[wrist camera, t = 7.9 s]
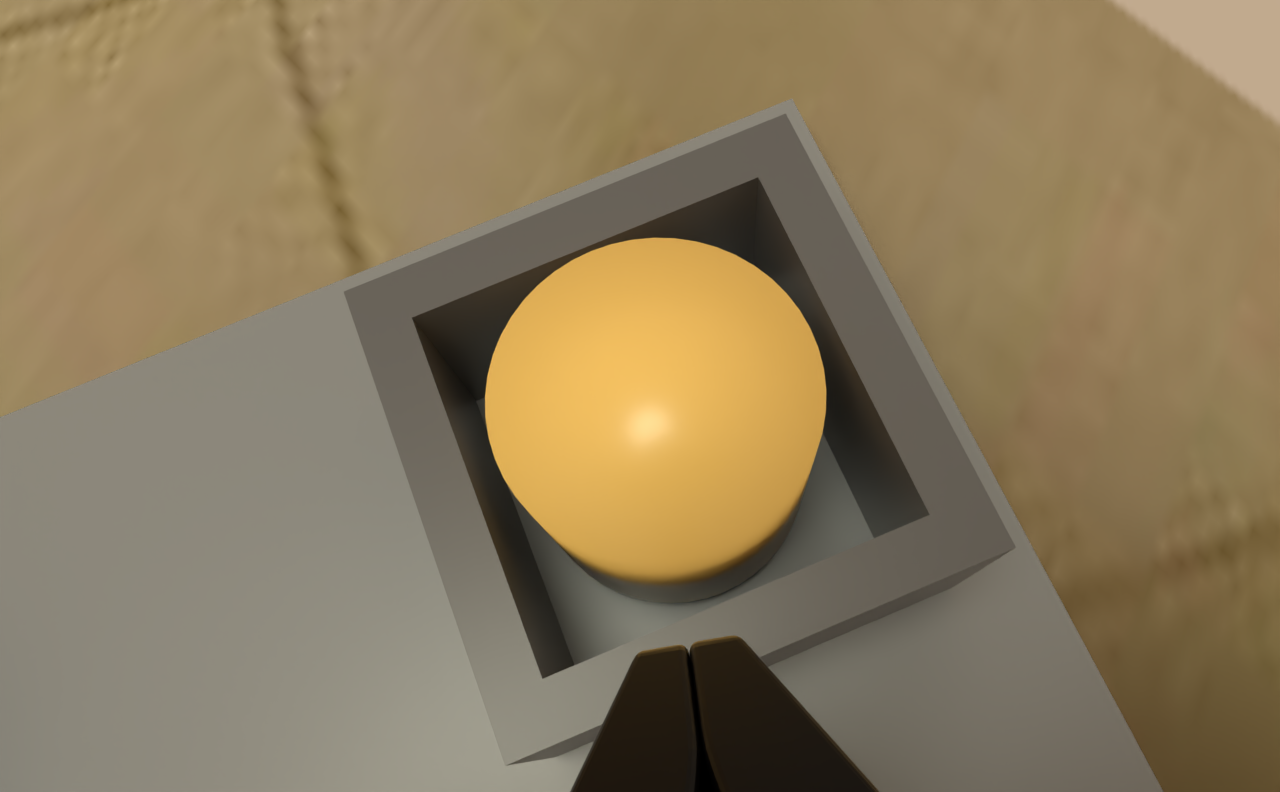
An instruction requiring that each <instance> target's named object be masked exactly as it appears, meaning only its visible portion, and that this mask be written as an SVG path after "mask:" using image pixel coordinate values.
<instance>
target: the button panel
mask: <svg viewBox="0 0 1280 792" xmlns="http://www.w3.org/2000/svg"><path fill="white" fill-rule="evenodd" d="M645 238H677V239H683V240H690V241H696V242H700V243H704V244H707V245H711V246H714V247H718V248H720V249H722V250H725V251H727V252H730V253H732V254H734V255H737V256H738V257H740V258H742V259H744V260H745V261H747V262H749V263H751V264H752V265H754V266H756V267H757V268H758V269H760V270H761V271H762V272H764V273H765V274H766V275H768V276H769V277H770V278H772V279H773V280H774V281H775V282H776V283H777V284H778V285H779V286H780V287H781V288H782V289H783V290H784V291H785V292H786V293H787V294H788V296H789V297H790V298H791V300H792V301H793V302H794V303H795V305H796V306H797V307H798V308H799V310H800V311H801V313H802V315H803V317H804V318H805V320H806V322H807V323H808V325H809V327H810V329H811V331H812V333H813V336H814V338H815V341H816V343H817V345H818V348H819V352H820V356H821V359H822V363H823V367H824V374H825V382H826V414H825V420H824V427H823V433H822V436H821V439H820V443H819V446H818V449H817V452H816V456H815V459H814V462H813V465H812V468H811V471H810V474H809V478H808V481H807V484H806V487H805V490H804V493H803V496H802V499H801V503H800V506H799V509H798V512H797V515H796V518H795V520H794V523H793V525H792V527H791V529H790V531H789V533H788V535H787V537H786V538H785V540H784V541H783V543H782V545H781V546H780V548H779V549H778V550H777V552H776V553H775V554H774V555H773V556H772V558H771V559H770V560H769V561H768V562H767V563H766V564H765V565H764V566H763V567H762V568H761V569H760V570H758V571H757V572H756V573H755V574H754V575H752V576H751V577H750V578H748V579H747V580H745V581H744V582H742V583H741V584H739V585H737V586H735V587H733V588H731V589H729V590H727V591H725V592H723V593H720V594H718V595H715V596H712V597H709V598H706V599H701V600H696V601H691V602H681V603H660V602H650V601H645V600H640V599H636V598H633V597H630V596H627V595H624V594H621V593H618V592H616V591H614V590H612V589H610V588H608V587H606V586H604V585H603V584H601V583H600V582H598V581H597V580H595V579H594V578H592V577H591V576H589V575H588V574H587V573H586V572H585V571H584V570H583V569H581V568H580V567H579V566H578V565H577V564H576V563H575V562H574V561H573V560H572V559H571V558H570V557H569V555H568V554H567V553H566V552H565V551H564V550H563V549H562V548H561V547H560V546H559V545H558V544H557V543H556V541H555V540H554V539H553V538H552V537H551V536H550V535H549V534H548V533H547V532H546V531H545V530H544V529H543V527H542V526H541V525H540V524H539V523H538V522H537V521H536V520H535V519H534V518H533V517H532V516H531V514H530V513H529V512H528V511H527V510H526V509H525V508H524V506H523V505H522V504H521V503H520V502H519V500H518V499H517V498H516V497H515V495H514V494H513V492H512V491H511V489H510V488H509V486H508V484H507V483H506V481H505V480H504V478H503V476H502V474H501V471H500V469H499V467H498V465H497V463H496V460H495V458H494V455H493V451H492V448H491V445H490V441H489V438H488V431H487V424H486V418H485V392H486V384H487V376H488V372H489V368H490V364H491V360H492V356H493V353H494V351H495V348H496V346H497V343H498V341H499V338H500V336H501V334H502V332H503V330H504V329H505V327H506V325H507V323H508V321H509V320H510V318H511V316H512V315H513V314H514V312H515V311H516V310H517V308H518V307H519V306H520V304H521V303H522V302H523V300H524V299H525V298H526V297H527V296H528V295H529V294H530V293H531V292H532V291H533V290H534V289H535V288H536V287H537V286H538V285H539V284H540V283H541V282H542V281H543V280H545V279H546V278H547V277H548V276H550V275H551V274H552V273H553V272H554V271H556V270H557V269H559V268H561V267H562V266H564V265H565V264H567V263H569V262H570V261H572V260H574V259H576V258H578V257H580V256H582V255H584V254H586V253H588V252H590V251H593V250H596V249H599V248H601V247H604V246H607V245H610V244H614V243H619V242H624V241H628V240H634V239H645ZM731 635H733V636H738V637H740V638H742V639H743V640H744V641H745V642H746V643H747V644H748V645H749V646H750V648H751V649H752V650H753V651H754V652H755V653H756V654H757V655H758V656H759V658H760V659H761V660H762V661H763V662H764V663H765V664H766V665H767V666H768V668H769V669H770V670H771V671H772V672H773V673H774V674H775V675H776V676H777V678H778V679H779V680H780V681H781V682H782V683H783V684H784V685H785V687H786V688H787V689H788V690H789V691H790V692H791V693H792V694H793V695H794V697H795V698H796V699H797V700H798V701H799V702H800V703H801V704H802V705H803V707H804V708H805V709H806V710H807V711H808V712H809V713H810V714H811V715H812V717H813V718H814V719H815V720H816V721H817V722H818V723H819V724H820V725H821V727H822V728H823V729H824V730H825V731H826V732H827V733H828V734H829V735H830V737H831V738H832V739H833V740H834V741H835V742H836V743H837V744H838V746H839V747H840V748H841V749H842V750H843V751H844V752H845V753H846V754H847V756H848V757H849V758H850V759H851V760H852V761H853V762H854V763H855V764H856V766H857V767H858V768H859V769H860V770H861V771H862V772H863V773H864V774H865V776H866V777H867V778H868V779H869V780H870V781H871V782H872V783H873V784H874V786H875V787H876V788H877V789H878V790H879V791H880V792H1163V790H1162V788H1161V786H1160V784H1159V782H1158V781H1157V779H1156V777H1155V775H1154V773H1153V771H1152V769H1151V767H1150V766H1149V764H1148V762H1147V760H1146V758H1145V756H1144V754H1143V753H1142V751H1141V749H1140V747H1139V745H1138V743H1137V741H1136V739H1135V738H1134V736H1133V734H1132V732H1131V730H1130V728H1129V726H1128V725H1127V723H1126V721H1125V719H1124V717H1123V715H1122V713H1121V711H1120V710H1119V708H1118V706H1117V704H1116V702H1115V700H1114V698H1113V697H1112V695H1111V693H1110V691H1109V689H1108V687H1107V685H1106V684H1105V682H1104V680H1103V678H1102V676H1101V674H1100V672H1099V670H1098V669H1097V667H1096V665H1095V663H1094V661H1093V659H1092V657H1091V656H1090V654H1089V652H1088V650H1087V648H1086V646H1085V644H1084V642H1083V641H1082V639H1081V637H1080V635H1079V633H1078V631H1077V629H1076V628H1075V626H1074V624H1073V622H1072V620H1071V618H1070V616H1069V614H1068V613H1067V611H1066V609H1065V607H1064V605H1063V603H1062V601H1061V600H1060V598H1059V596H1058V594H1057V592H1056V590H1055V588H1054V587H1053V585H1052V583H1051V581H1050V579H1049V577H1048V575H1047V573H1046V572H1045V570H1044V568H1043V566H1042V564H1041V562H1040V560H1039V559H1038V557H1037V555H1036V553H1035V551H1034V549H1033V547H1032V545H1031V544H1030V542H1029V540H1028V538H1027V536H1026V534H1025V532H1024V531H1023V529H1022V527H1021V525H1020V523H1019V521H1018V519H1017V517H1016V516H1015V514H1014V512H1013V510H1012V508H1011V506H1010V504H1009V503H1008V501H1007V499H1006V497H1005V495H1004V493H1003V491H1002V489H1001V488H1000V486H999V484H998V482H997V480H996V478H995V476H994V475H993V473H992V471H991V469H990V467H989V465H988V463H987V462H986V460H985V458H984V456H983V454H982V452H981V450H980V448H979V447H978V445H977V443H976V441H975V439H974V437H973V435H972V434H971V432H970V430H969V428H968V426H967V424H966V422H965V420H964V419H963V417H962V415H961V413H960V411H959V409H958V407H957V406H956V404H955V402H954V400H953V398H952V396H951V394H950V392H949V391H948V389H947V387H946V385H945V383H944V381H943V379H942V378H941V376H940V374H939V372H938V370H937V368H936V366H935V365H934V363H933V361H932V359H931V357H930V355H929V353H928V351H927V350H926V348H925V346H924V344H923V342H922V340H921V338H920V337H919V335H918V333H917V331H916V329H915V327H914V325H913V323H912V322H911V320H910V318H909V316H908V314H907V312H906V310H905V309H904V307H903V305H902V303H901V301H900V299H899V297H898V295H897V294H896V292H895V290H894V288H893V286H892V284H891V282H890V281H889V279H888V277H887V275H886V273H885V271H884V269H883V267H882V266H881V264H880V262H879V260H878V258H877V256H876V254H875V253H874V251H873V249H872V247H871V245H870V243H869V241H868V240H867V238H866V236H865V234H864V232H863V230H862V228H861V226H860V225H859V223H858V221H857V219H856V217H855V215H854V213H853V212H852V210H851V208H850V206H849V204H848V202H847V200H846V198H845V197H844V195H843V193H842V191H841V189H840V187H839V185H838V184H837V182H836V180H835V178H834V176H833V174H832V172H831V170H830V169H829V167H828V165H827V163H826V161H825V159H824V157H823V156H822V154H821V152H820V150H819V148H818V146H817V144H816V143H815V141H814V139H813V137H812V135H811V133H810V131H809V129H808V128H807V126H806V124H805V122H804V120H803V118H802V116H801V115H800V113H799V111H798V109H797V107H796V105H795V103H794V101H793V100H792V99H790V100H787V101H785V102H782V103H780V104H777V105H775V106H772V107H770V108H767V109H765V110H762V111H760V112H757V113H755V114H752V115H750V116H747V117H745V118H743V119H740V120H738V121H735V122H733V123H730V124H728V125H725V126H723V127H720V128H718V129H715V130H713V131H710V132H708V133H705V134H703V135H700V136H698V137H695V138H693V139H690V140H688V141H685V142H683V143H680V144H678V145H675V146H673V147H670V148H668V149H665V150H663V151H661V152H658V153H656V154H653V155H651V156H648V157H646V158H643V159H641V160H638V161H636V162H633V163H631V164H628V165H626V166H623V167H621V168H618V169H616V170H613V171H611V172H608V173H606V174H603V175H601V176H598V177H596V178H593V179H591V180H588V181H586V182H584V183H581V184H579V185H576V186H574V187H571V188H569V189H566V190H564V191H561V192H559V193H556V194H554V195H551V196H549V197H546V198H544V199H541V200H539V201H536V202H534V203H531V204H529V205H526V206H524V207H521V208H519V209H516V210H514V211H511V212H509V213H506V214H504V215H502V216H499V217H497V218H494V219H492V220H489V221H487V222H484V223H482V224H479V225H477V226H474V227H472V228H469V229H467V230H464V231H462V232H459V233H457V234H454V235H452V236H449V237H447V238H444V239H442V240H439V241H437V242H434V243H432V244H429V245H427V246H424V247H422V248H420V249H417V250H415V251H412V252H410V253H407V254H405V255H402V256H400V257H397V258H395V259H392V260H390V261H387V262H385V263H382V264H380V265H377V266H375V267H372V268H370V269H367V270H365V271H362V272H360V273H357V274H355V275H352V276H350V277H347V278H345V279H343V280H340V281H338V282H335V283H333V284H330V285H328V286H325V287H323V288H320V289H318V290H315V291H313V292H310V293H308V294H305V295H303V296H300V297H298V298H295V299H293V300H290V301H288V302H285V303H283V304H280V305H278V306H275V307H273V308H270V309H268V310H265V311H263V312H261V313H258V314H256V315H253V316H251V317H248V318H246V319H243V320H241V321H238V322H236V323H233V324H231V325H228V326H226V327H223V328H221V329H218V330H216V331H213V332H211V333H208V334H206V335H203V336H201V337H198V338H196V339H193V340H191V341H188V342H186V343H184V344H181V345H179V346H176V347H174V348H171V349H169V350H166V351H164V352H161V353H159V354H156V355H154V356H151V357H149V358H146V359H144V360H141V361H139V362H136V363H134V364H131V365H129V366H126V367H124V368H121V369H119V370H116V371H114V372H111V373H109V374H106V375H104V376H102V377H99V378H97V379H94V380H92V381H89V382H87V383H84V384H82V385H79V386H77V387H74V388H72V389H69V390H67V391H64V392H62V393H59V394H57V395H54V396H52V397H49V398H47V399H44V400H42V401H39V402H37V403H34V404H32V405H29V406H27V407H24V408H22V409H20V410H17V411H15V412H12V413H10V414H7V415H5V416H2V417H0V792H570V791H571V788H572V786H573V784H574V782H575V780H576V778H577V776H578V774H579V772H580V770H581V768H582V765H583V763H584V761H585V759H586V757H587V755H588V753H589V751H590V749H591V747H592V745H593V743H594V740H595V738H596V736H597V734H598V732H599V730H600V728H601V726H602V724H603V722H604V720H605V717H606V715H607V713H608V711H609V709H610V707H611V705H612V703H613V701H614V699H615V697H616V694H617V692H618V690H619V688H620V686H621V684H622V682H623V680H624V678H625V676H626V674H627V672H628V669H629V667H630V665H631V663H632V661H633V659H634V657H635V656H636V655H637V654H638V653H639V652H641V651H644V650H650V649H656V648H661V647H667V646H673V645H683V646H685V647H686V648H687V649H688V651H689V654H690V647H691V645H692V644H693V643H694V642H697V641H702V640H708V639H714V638H720V637H726V636H731Z"/></svg>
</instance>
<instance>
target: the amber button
mask: <svg viewBox="0 0 1280 792" xmlns="http://www.w3.org/2000/svg"><path fill="white" fill-rule="evenodd" d="M825 414H826V382H825V374H824V367H823V363H822V359H821V356H820V352H819V348H818V345H817V343H816V341H815V338H814V336H813V333H812V331H811V329H810V327H809V325H808V323H807V322H806V320H805V318H804V317H803V315H802V313H801V311H800V310H799V308H798V307H797V306H796V305H795V303H794V302H793V301H792V300H791V298H790V297H789V296H788V294H787V293H786V292H785V291H784V290H783V289H782V288H781V287H780V286H779V285H778V284H777V283H776V282H775V281H774V280H773V279H772V278H770V277H769V276H768V275H766V274H765V273H764V272H762V271H761V270H760V269H758V268H757V267H756V266H754V265H752V264H751V263H749V262H747V261H745V260H744V259H742V258H740V257H738V256H737V255H734V254H732V253H730V252H727V251H725V250H722V249H720V248H718V247H714V246H711V245H707V244H704V243H700V242H696V241H690V240H683V239H677V238H645V239H634V240H628V241H624V242H619V243H614V244H610V245H607V246H604V247H601V248H599V249H596V250H593V251H590V252H588V253H586V254H584V255H582V256H580V257H578V258H576V259H574V260H572V261H570V262H569V263H567V264H565V265H564V266H562V267H561V268H559V269H557V270H556V271H554V272H553V273H552V274H551V275H550V276H548V277H547V278H546V279H545V280H543V281H542V282H541V283H540V284H539V285H538V286H537V287H536V288H535V289H534V290H533V291H532V292H531V293H530V294H529V295H528V296H527V297H526V298H525V299H524V300H523V302H522V303H521V304H520V306H519V307H518V308H517V310H516V311H515V312H514V314H513V315H512V316H511V318H510V320H509V321H508V323H507V325H506V327H505V329H504V330H503V332H502V334H501V336H500V338H499V341H498V343H497V346H496V348H495V351H494V353H493V356H492V360H491V364H490V368H489V372H488V376H487V384H486V392H485V418H486V424H487V431H488V438H489V441H490V445H491V448H492V451H493V455H494V458H495V460H496V463H497V465H498V467H499V469H500V471H501V474H502V476H503V478H504V480H505V481H506V483H507V484H508V486H509V488H510V489H511V491H512V492H513V494H514V495H515V497H516V498H517V499H518V500H519V502H520V503H521V504H522V505H523V506H524V508H525V509H526V510H527V511H528V512H529V513H530V514H531V516H532V517H533V518H534V519H535V520H536V521H537V522H538V523H539V524H540V525H541V526H542V527H543V529H544V530H545V531H546V532H547V533H548V534H549V535H550V536H551V537H552V538H553V539H554V540H555V541H556V543H557V544H558V545H559V546H560V547H561V548H562V549H563V550H564V551H565V552H566V553H567V554H568V555H569V557H570V558H571V559H572V560H573V561H574V562H575V563H576V564H577V565H578V566H579V567H580V568H581V569H583V570H584V571H585V572H586V573H587V574H588V575H589V576H591V577H592V578H594V579H595V580H597V581H598V582H600V583H601V584H603V585H604V586H606V587H608V588H610V589H612V590H614V591H616V592H618V593H621V594H624V595H627V596H630V597H633V598H636V599H640V600H645V601H650V602H660V603H681V602H691V601H696V600H701V599H706V598H709V597H712V596H715V595H718V594H720V593H723V592H725V591H727V590H729V589H731V588H733V587H735V586H737V585H739V584H741V583H742V582H744V581H745V580H747V579H748V578H750V577H751V576H752V575H754V574H755V573H756V572H757V571H758V570H760V569H761V568H762V567H763V566H764V565H765V564H766V563H767V562H768V561H769V560H770V559H771V558H772V556H773V555H774V554H775V553H776V552H777V550H778V549H779V548H780V546H781V545H782V543H783V541H784V540H785V538H786V537H787V535H788V533H789V531H790V529H791V527H792V525H793V523H794V520H795V518H796V515H797V512H798V509H799V506H800V503H801V499H802V496H803V493H804V490H805V487H806V484H807V481H808V478H809V474H810V471H811V468H812V465H813V462H814V459H815V456H816V452H817V449H818V446H819V443H820V439H821V436H822V433H823V427H824V420H825Z"/></svg>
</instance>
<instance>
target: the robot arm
mask: <svg viewBox="0 0 1280 792" xmlns="http://www.w3.org/2000/svg"><path fill="white" fill-rule="evenodd" d="M570 792H880V791H879V790H878V789H877V788H876V787H875V786H874V784H873V783H872V782H871V781H870V780H869V779H868V778H867V777H866V776H865V774H864V773H863V772H862V771H861V770H860V769H859V768H858V767H857V766H856V764H855V763H854V762H853V761H852V760H851V759H850V758H849V757H848V756H847V754H846V753H845V752H844V751H843V750H842V749H841V748H840V747H839V746H838V744H837V743H836V742H835V741H834V740H833V739H832V738H831V737H830V735H829V734H828V733H827V732H826V731H825V730H824V729H823V728H822V727H821V725H820V724H819V723H818V722H817V721H816V720H815V719H814V718H813V717H812V715H811V714H810V713H809V712H808V711H807V710H806V709H805V708H804V707H803V705H802V704H801V703H800V702H799V701H798V700H797V699H796V698H795V697H794V695H793V694H792V693H791V692H790V691H789V690H788V689H787V688H786V687H785V685H784V684H783V683H782V682H781V681H780V680H779V679H778V678H777V676H776V675H775V674H774V673H773V672H772V671H771V670H770V669H769V668H768V666H767V665H766V664H765V663H764V662H763V661H762V660H761V659H760V658H759V656H758V655H757V654H756V653H755V652H754V651H753V650H752V649H751V648H750V646H749V645H748V644H747V643H746V642H745V641H744V640H743V639H742V638H740V637H738V636H733V635H731V636H726V637H720V638H714V639H708V640H702V641H697V642H694V643H693V644H692V645H691V647H690V654H689V651H688V649H687V648H686V647H685V646H683V645H673V646H667V647H661V648H656V649H650V650H644V651H641V652H639V653H638V654H637V655H636V656H635V657H634V659H633V661H632V663H631V665H630V667H629V669H628V672H627V674H626V676H625V678H624V680H623V682H622V684H621V686H620V688H619V690H618V692H617V694H616V697H615V699H614V701H613V703H612V705H611V707H610V709H609V711H608V713H607V715H606V717H605V720H604V722H603V724H602V726H601V728H600V730H599V732H598V734H597V736H596V738H595V740H594V743H593V745H592V747H591V749H590V751H589V753H588V755H587V757H586V759H585V761H584V763H583V765H582V768H581V770H580V772H579V774H578V776H577V778H576V780H575V782H574V784H573V786H572V788H571V791H570Z"/></svg>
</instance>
